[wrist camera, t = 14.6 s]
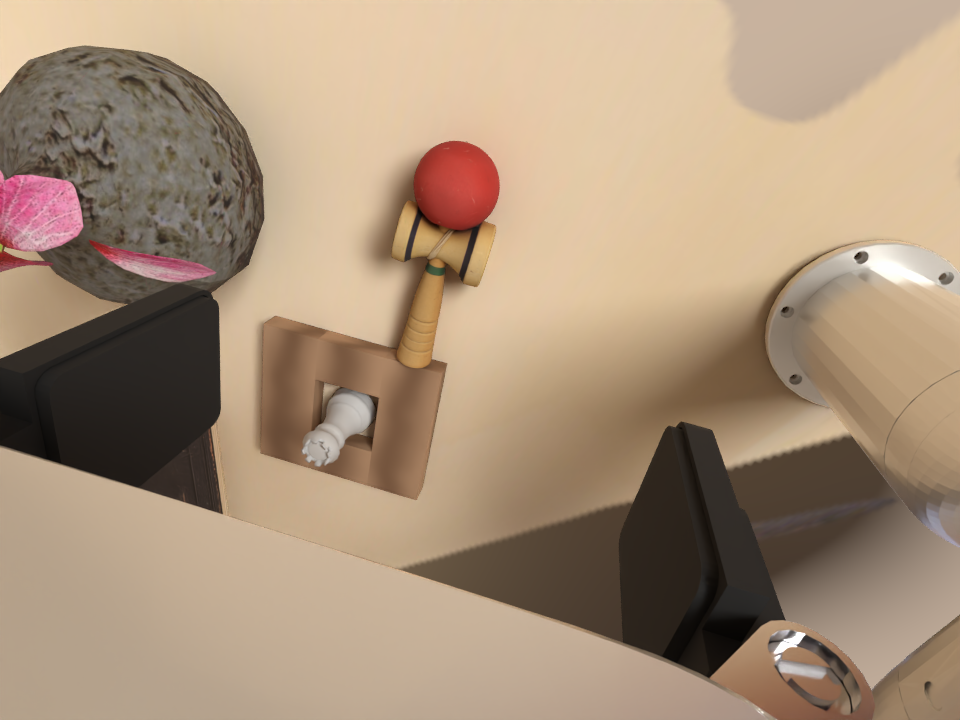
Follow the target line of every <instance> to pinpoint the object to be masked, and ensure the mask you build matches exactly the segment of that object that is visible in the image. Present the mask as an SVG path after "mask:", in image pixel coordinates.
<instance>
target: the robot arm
mask: <svg viewBox="0 0 960 720" xmlns="http://www.w3.org/2000/svg"><path fill="white" fill-rule="evenodd" d="M858 252H859V256H858V257H856V258H854V256H855V255H856V254H857V253H858ZM941 274H942V276H941V277H939V276H940V275H941ZM786 306H787V309H786V310H784V311H781V310H782V309H783V308H784V307H786ZM765 344H766V351H767V355H768V358H769V360H770V363H771V365H772V367H773V369H774V370H775V372H776V373H777V375H778V377H779V378H780V379H781V380H782V382H783V383H784V384H785V385H786V386H787V387H788V388H789V389H790V390H792V391H793V392H795V393H796V394H797V395H799V396H800V397H802V398H804V399H806V400H808V401H810V402H813V403H815V404H818V405H822V406H826V407H830V408H831V409H832V410H833V412H834V413H835V414H836V415H837V417H838V418H839V419H840V421H841V422H842V423H843V425H844V426H845V427H846V429H847V430H848V431H849V433H850V434H851V435H852V436H853V438H854V439H855V440H856V442H857V443H858V444H859V446H860V447H861V448H862V449H863V451H864V452H865V453H866V455H867V456H868V457H869V459H870V460H871V461H872V463H873V464H874V465H875V467H876V468H877V469H878V470H879V472H880V473H881V474H882V476H883V477H884V478H885V480H886V481H887V482H888V484H889V485H890V486H891V487H892V489H893V490H894V491H895V492H896V493H897V495H898V496H899V497H900V499H901V500H902V501H903V503H904V504H905V505H906V506H907V508H908V509H909V510H910V511H911V512H912V513H913V515H914V516H915V517H916V518H917V519H918V520H919V521H920V522H921V523H922V524H924V525H925V526H926V527H927V528H929V529H930V530H932V531H933V532H934V533H935V534H937V535H938V536H940V537H941V538H943V539H944V540H946V541H948V542H950V543H952V544H953V545H955V546H957V547H959V548H960V272H959V271H958V270H957V269H956V268H955V267H954V266H953V265H952V264H951V263H950V262H949V261H948V260H946V259H945V258H943V257H941V256H940V255H938V254H936V253H935V252H933V251H931V250H928V249H926V248H924V247H921V246H919V245H915V244H911V243H907V242H902V241H893V240H874V241H866V242H859V243H855V244H851V245H848V246H844V247H841V248H838V249H836V250H834V251H831V252H829V253H827V254H825V255H823V256H821V257H819V258H818V259H816V260H814V261H813V262H811V263H810V264H808V265H807V266H805V267H804V268H803V269H802V270H801V271H799V272H798V273H797V274H796V275H795V276H794V277H793V278H792V279H790V281H789V282H788V283H787V284H786V286H785V287H784V288H783V289H782V291H781V292H780V293H779V295H778V296H777V298H776V300H775V302H774V304H773V306H772V308H771V310H770V313H769V316H768V319H767V323H766V331H765ZM794 374H795V375H794ZM792 375H794V376H793V377H791V376H792ZM220 410H221V397H220V339H219V306H218V303H217V301H216V300H214V299H213V297H212V295H211V293H210V292H209V291H207V290H203V289H200V288H196V287H192V286H189V285H185V284H181V283H179V284H175V285H173V286H171V287H168V288H166V289H164V290H161V291H159V292H156V293H154V294H152V295H149V296H147V297H145V298H142V299H140V300H138V301H135V302H133V303H131V304H128V305H126V306H124V307H121V308H119V309H116V310H114V311H112V312H109V313H107V314H105V315H102V316H100V317H98V318H95V319H93V320H91V321H88V322H86V323H84V324H81V325H79V326H76V327H74V328H72V329H69V330H67V331H65V332H62V333H60V334H58V335H55V336H53V337H51V338H48V339H46V340H44V341H41V342H39V343H36V344H34V345H32V346H29V347H27V348H25V349H22V350H20V351H18V352H15V353H13V354H11V355H8V356H6V357H3V358H1V359H0V720H960V615H959V616H957V617H956V618H955V619H954V620H952V621H951V622H950V623H949V624H947V625H946V626H945V627H943V628H942V629H941V630H940V631H939V632H937V633H936V634H935V635H933V636H932V637H931V638H930V639H928V640H927V641H926V642H925V643H923V644H922V645H921V646H920V647H919V648H917V649H916V650H915V651H913V652H912V653H911V654H910V655H908V656H907V657H906V658H905V659H904V660H903V661H902V662H901V663H899V664H898V665H897V666H896V667H895V668H893V669H892V670H891V671H890V672H889V673H888V674H887V675H886V676H885V677H884V678H883V679H881V681H879V682H878V683H877V684H876V685H875V686H874V688H873V689H872V690H871V688H870V687H869V685H868V683H867V681H866V679H865V677H864V675H863V674H862V673H861V671H860V670H859V669H858V668H857V666H856V665H855V664H854V663H853V662H852V660H851V659H850V658H849V657H848V656H847V655H846V654H845V653H843V651H842V650H840V649H839V648H838V647H837V646H836V645H835V644H834V643H832V642H831V641H829V640H828V639H826V638H825V637H823V636H822V635H820V634H819V633H818V632H816V631H814V630H812V629H809V628H807V627H805V626H803V625H801V624H798V623H793V622H789V621H786V620H785V618H784V615H783V612H782V609H781V607H780V604H779V601H778V599H777V595H776V593H775V590H774V587H773V584H772V582H771V579H770V576H769V573H768V570H767V568H766V565H765V562H764V560H763V557H762V554H761V551H760V548H759V546H758V543H757V540H756V537H755V534H754V532H753V529H752V526H751V523H750V521H749V518H748V516H747V514H746V512H745V510H743V509H741V508H739V505H738V502H737V500H736V497H735V494H734V491H733V488H732V485H731V483H730V479H729V477H728V474H727V471H726V468H725V465H724V462H723V459H722V456H721V454H720V451H719V448H718V445H717V442H716V439H715V436H714V433H713V432H712V430H710V429H707V428H703V427H699V426H696V425H692V424H688V423H685V422H680V423H679V424H678V425H677V426H676V428H675V427H672V426H668V427H667V428H666V429H665V431H664V433H663V435H662V438H661V440H660V442H659V445H658V447H657V449H656V452H655V454H654V456H653V458H652V461H651V463H650V465H649V468H648V470H647V472H646V475H645V477H644V479H643V482H642V484H641V486H640V489H639V491H638V493H637V495H636V498H635V500H634V502H633V505H632V507H631V509H630V512H629V514H628V516H627V519H626V521H625V523H624V526H623V528H622V531H621V534H620V539H619V563H620V584H621V608H622V629H623V643H622V642H619V641H616V640H614V639H611V638H608V637H605V636H602V635H600V634H597V633H594V632H591V631H588V630H585V629H583V628H580V627H577V626H574V625H571V624H568V623H565V622H562V621H558V620H555V619H552V618H549V617H546V616H543V615H540V614H537V613H533V612H530V611H527V610H524V609H521V608H518V607H514V606H511V605H508V604H505V603H502V602H499V601H496V600H493V599H490V598H486V597H483V596H480V595H477V594H474V593H471V592H468V591H465V590H462V589H458V588H455V587H452V586H449V585H446V584H443V583H439V582H436V581H433V580H430V579H427V578H424V577H421V576H417V575H414V574H411V573H408V572H405V571H402V570H399V569H395V568H392V567H389V566H386V565H383V564H379V563H376V562H373V561H370V560H367V559H364V558H360V557H357V556H354V555H351V554H348V553H344V552H341V551H338V550H335V549H332V548H328V547H325V546H322V545H319V544H316V543H312V542H309V541H306V540H303V539H300V538H296V537H293V536H290V535H287V534H284V533H280V532H277V531H274V530H271V529H268V528H265V527H261V526H258V525H255V524H252V523H249V522H245V521H242V520H239V519H236V518H233V517H229V516H226V515H223V514H220V513H217V512H214V511H210V510H207V509H204V508H201V507H198V506H194V505H191V504H188V503H185V502H182V501H179V500H175V499H172V498H169V497H166V496H163V495H159V494H156V493H153V492H150V491H147V490H144V489H140V488H139V487H140V486H141V485H142V484H143V483H145V482H146V481H147V480H148V479H149V478H151V477H152V476H153V475H154V474H155V473H157V472H158V471H159V470H160V469H161V468H163V467H164V466H165V465H166V464H168V463H169V462H170V461H171V460H172V459H174V458H175V457H176V456H177V455H178V454H180V453H181V452H182V451H183V450H184V449H186V448H187V447H188V446H189V445H190V444H192V443H193V442H194V441H195V440H196V439H198V438H199V437H200V436H201V435H202V434H204V433H205V432H206V431H207V430H208V429H210V428H211V427H212V426H213V425H214V424H215V423H216V421H217V419H218V417H219V415H220Z"/></svg>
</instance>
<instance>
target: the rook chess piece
mask: <svg viewBox="0 0 960 720" xmlns="http://www.w3.org/2000/svg"><path fill="white" fill-rule="evenodd" d="M326 411H327V413H326V418H325V420H324V422H323V423H322V424H319V425H318V426H317V427H316V428H315V430H314V431H310V432H308V433H307V434H306V435H305V436H304V439H303V441H302V442H303V448H302V449H301V453H302V454H306V455H307V457H306V458H305V460H306V461H307V462H308V463H310V462H311V460H312V461H314V462H315V464H314V466H316V467H320V466H321V465H322V464H324V465H327V464H329V463H333V462H334V461H335V460H337V459H338V456H339V454H340V451H339V450H340V449H341V448H342V447H343V446H344V443H345V440H346V439H347V438H348V437H349V436H350V435H354V434H358V433H361V432H363V431H364V430H365V429H366V428H368V427H369V425H370V424H371V423H373V420H374V418H375V416H376V413H375V406H374V404H373V402H372V400H371V398H370V397H369V396H368V395H367V394H364V393H361V392H357V391H354V390H350V389H347V388H341V389H338V390H337V391H336V392H335V393H334V394H333V396H332V398H330V400H329V402H328V405H327V408H326Z"/></svg>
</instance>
